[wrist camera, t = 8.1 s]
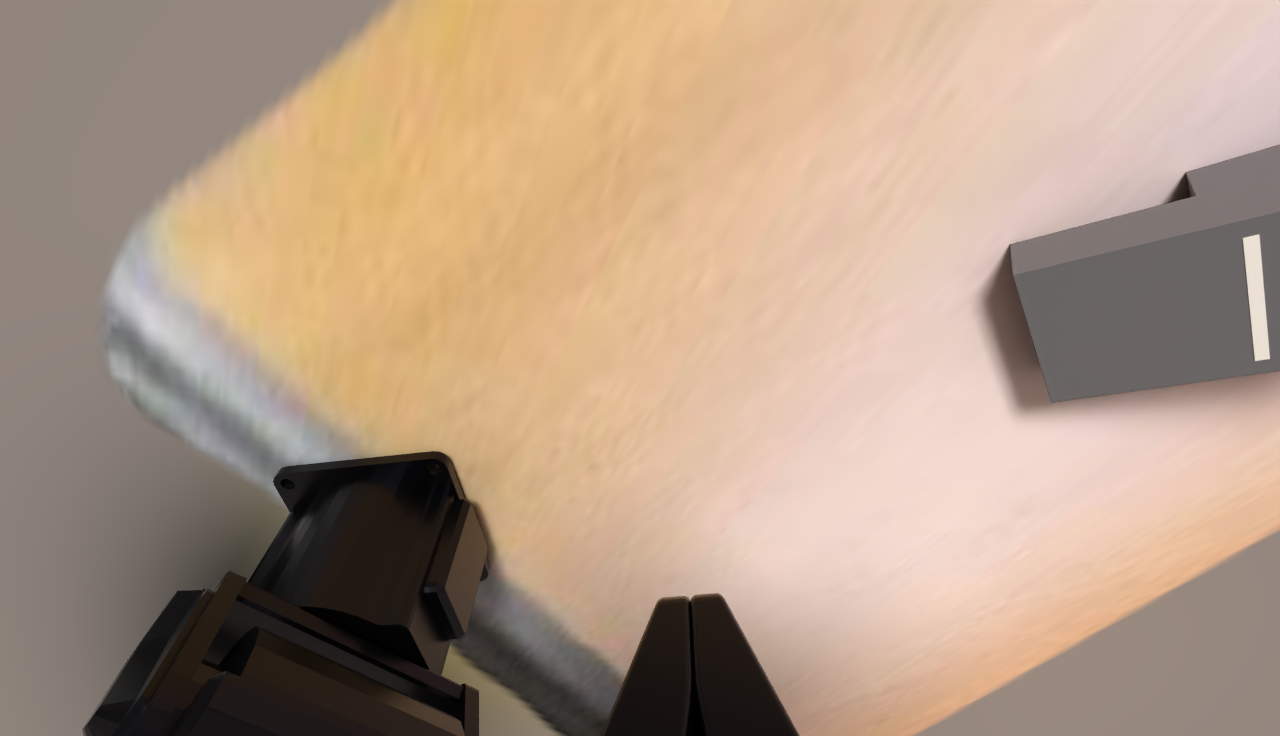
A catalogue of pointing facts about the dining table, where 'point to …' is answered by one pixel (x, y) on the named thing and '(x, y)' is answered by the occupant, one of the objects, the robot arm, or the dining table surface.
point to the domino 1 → (1157, 294)
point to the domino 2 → (1235, 171)
